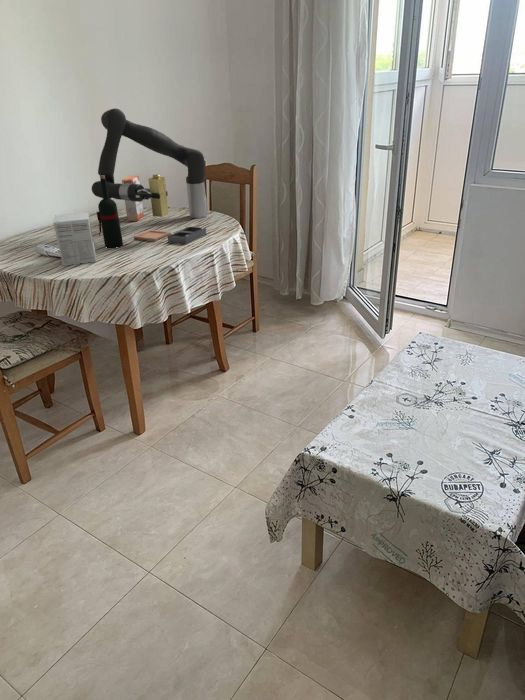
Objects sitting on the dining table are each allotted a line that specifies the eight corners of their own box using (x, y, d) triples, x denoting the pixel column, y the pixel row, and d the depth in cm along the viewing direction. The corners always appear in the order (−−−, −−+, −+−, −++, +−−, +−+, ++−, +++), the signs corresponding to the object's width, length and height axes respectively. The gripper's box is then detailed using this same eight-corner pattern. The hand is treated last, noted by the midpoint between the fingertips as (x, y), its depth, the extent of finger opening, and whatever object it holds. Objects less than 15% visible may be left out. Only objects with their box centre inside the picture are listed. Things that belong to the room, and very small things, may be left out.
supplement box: (96, 262, 211) (88, 219, 202) (62, 266, 208) (52, 222, 199) (96, 253, 222) (88, 211, 214) (63, 256, 219) (54, 215, 211)
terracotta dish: (149, 232, 248) (149, 229, 248) (170, 234, 244) (170, 232, 243) (134, 239, 239) (133, 236, 238) (155, 241, 234) (155, 238, 234)
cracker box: (138, 221, 269) (132, 179, 260) (127, 221, 270) (120, 179, 260) (144, 215, 282) (139, 174, 272) (133, 215, 282) (127, 175, 272)
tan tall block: (159, 213, 236) (154, 173, 228) (168, 214, 234) (164, 174, 226) (152, 215, 232) (148, 175, 224) (162, 216, 230) (157, 176, 222)
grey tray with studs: (188, 232, 246) (188, 225, 244) (206, 234, 242) (205, 227, 241) (168, 242, 233) (167, 234, 231) (186, 244, 229) (185, 236, 227)
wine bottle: (104, 243, 235) (91, 174, 221) (125, 243, 233) (114, 173, 220) (97, 248, 228) (84, 177, 214) (119, 248, 227) (107, 177, 213)
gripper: (120, 186, 227) (152, 189, 221) (140, 181, 239) (171, 183, 232) (123, 204, 231) (155, 207, 224) (142, 197, 242) (173, 200, 236)
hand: (163, 194), depth 228 cm, fingers closed on tan tall block, 5 cm apart
